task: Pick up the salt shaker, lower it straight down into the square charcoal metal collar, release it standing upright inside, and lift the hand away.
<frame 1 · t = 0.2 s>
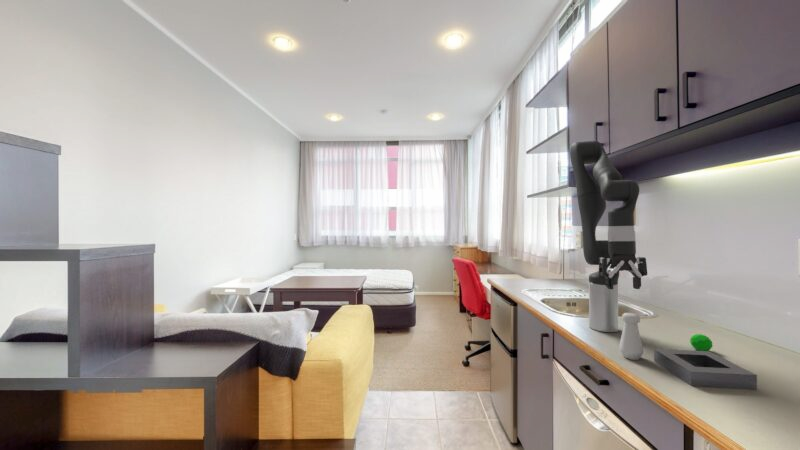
hand: (623, 288, 105), 18 cm above the counter, tool pointing down, fingers open, 8 cm apart
collar: (700, 373, 84), on the counter
salt shaker: (631, 357, 94), on the counter
polyhedron: (701, 351, 99), on the counter
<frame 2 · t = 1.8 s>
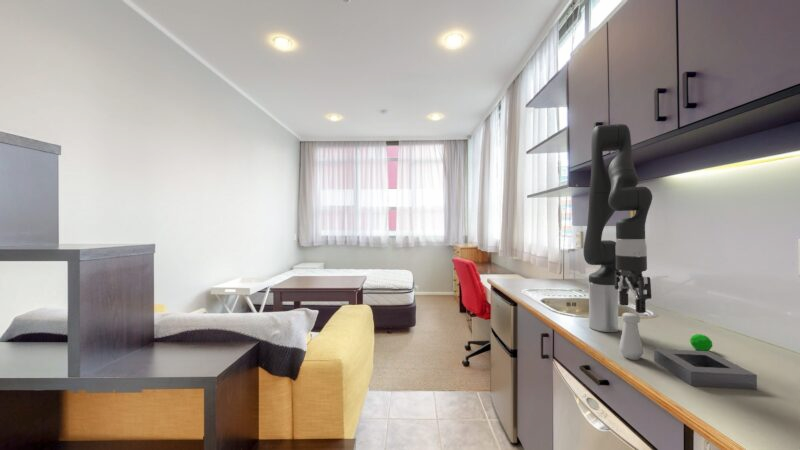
hand: (631, 308, 94), 15 cm above the counter, tool pointing down, fingers open, 8 cm apart
nothing on the counter moved.
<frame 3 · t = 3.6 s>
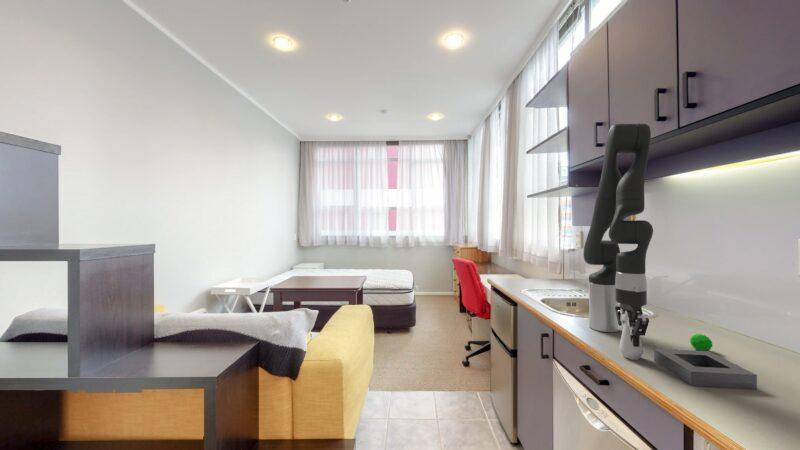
hand: (631, 344, 94), 4 cm above the counter, tool pointing down, fingers closed on salt shaker, 3 cm apart
salt shaker: (631, 357, 94), on the counter, touching gripper
everything else where it was.
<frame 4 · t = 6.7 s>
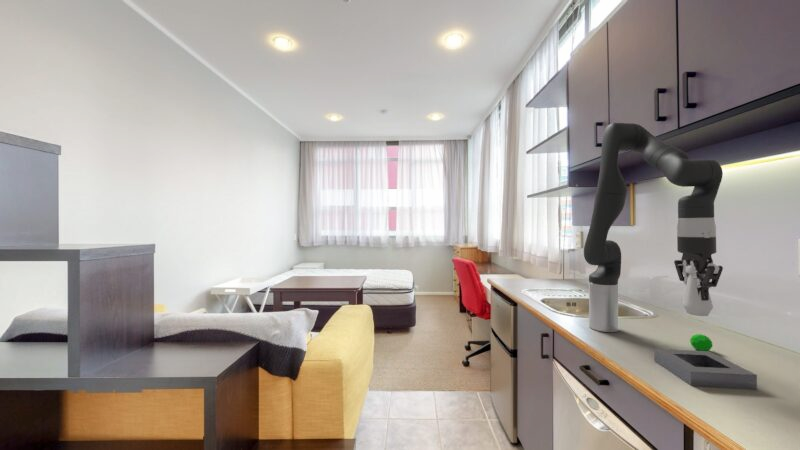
hand: (697, 300, 84), 19 cm above the counter, tool pointing down, fingers closed on salt shaker, 3 cm apart
salt shaker: (697, 314, 84), point 16 cm above the counter, touching gripper
everything else where it was.
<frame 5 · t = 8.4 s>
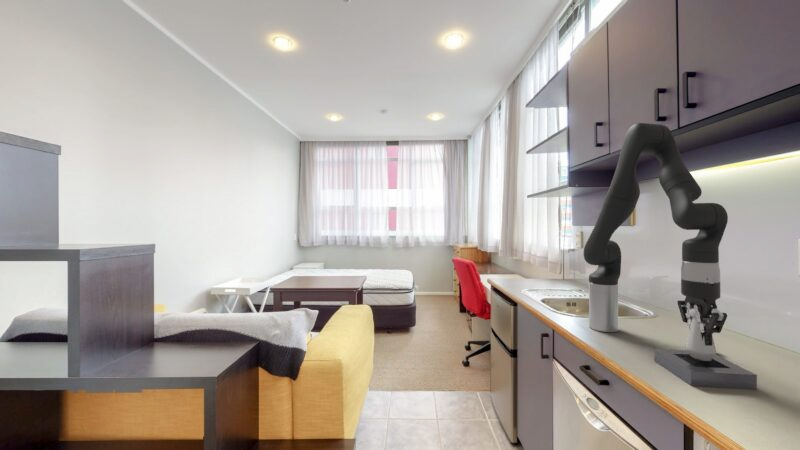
hand: (700, 343, 83), 8 cm above the counter, tool pointing down, fingers closed on salt shaker, 3 cm apart
salt shaker: (700, 358, 83), point 4 cm above the counter, touching gripper
everything else where it was.
when the fingers open (5 cm above the counter, at t = 9.6 s): salt shaker drops 1 cm, resting in collar.
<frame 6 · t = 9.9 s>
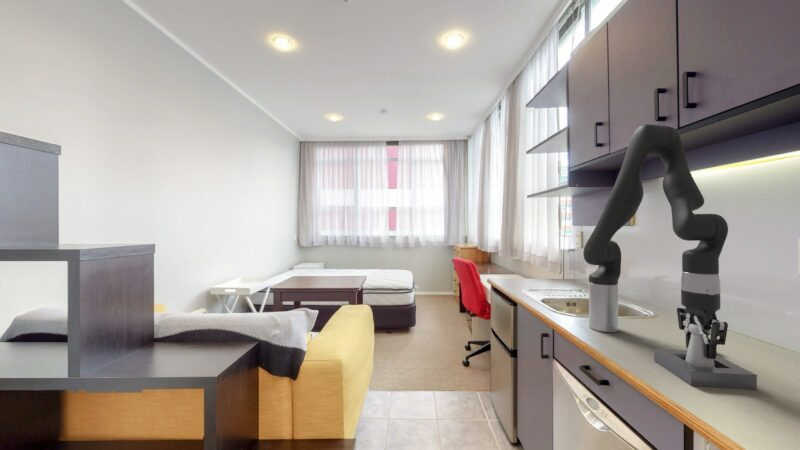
hand: (700, 353, 83), 6 cm above the counter, tool pointing down, fingers open, 5 cm apart
salt shaker: (700, 374, 84), resting in collar
everything else where it was.
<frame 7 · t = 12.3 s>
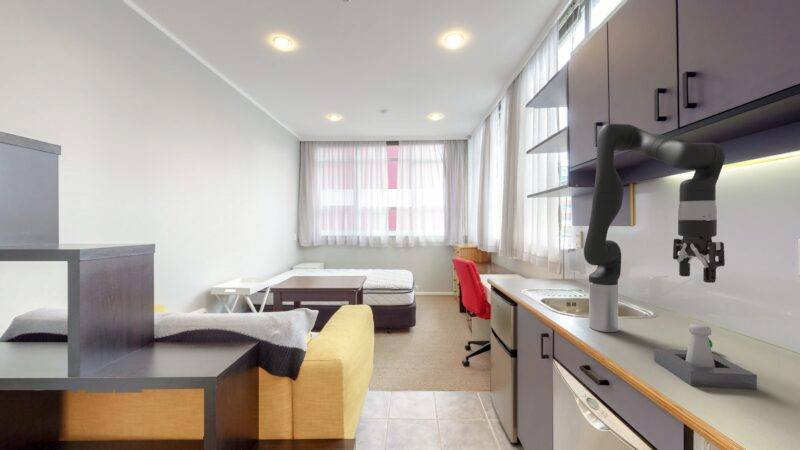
hand: (696, 279, 84), 25 cm above the counter, tool pointing down, fingers open, 8 cm apart
nothing on the counter moved.
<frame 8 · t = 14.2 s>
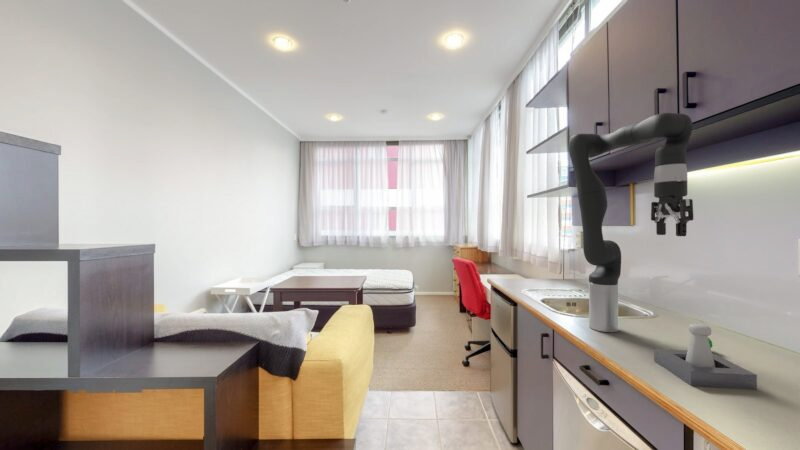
hand: (670, 235, 94), 36 cm above the counter, tool pointing down, fingers open, 8 cm apart
nothing on the counter moved.
at the end: salt shaker 0.1 cm off-centre on the collar, point 0.0 cm above the collar's base; salt shaker tilted 0°; the gripper is holding nothing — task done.
